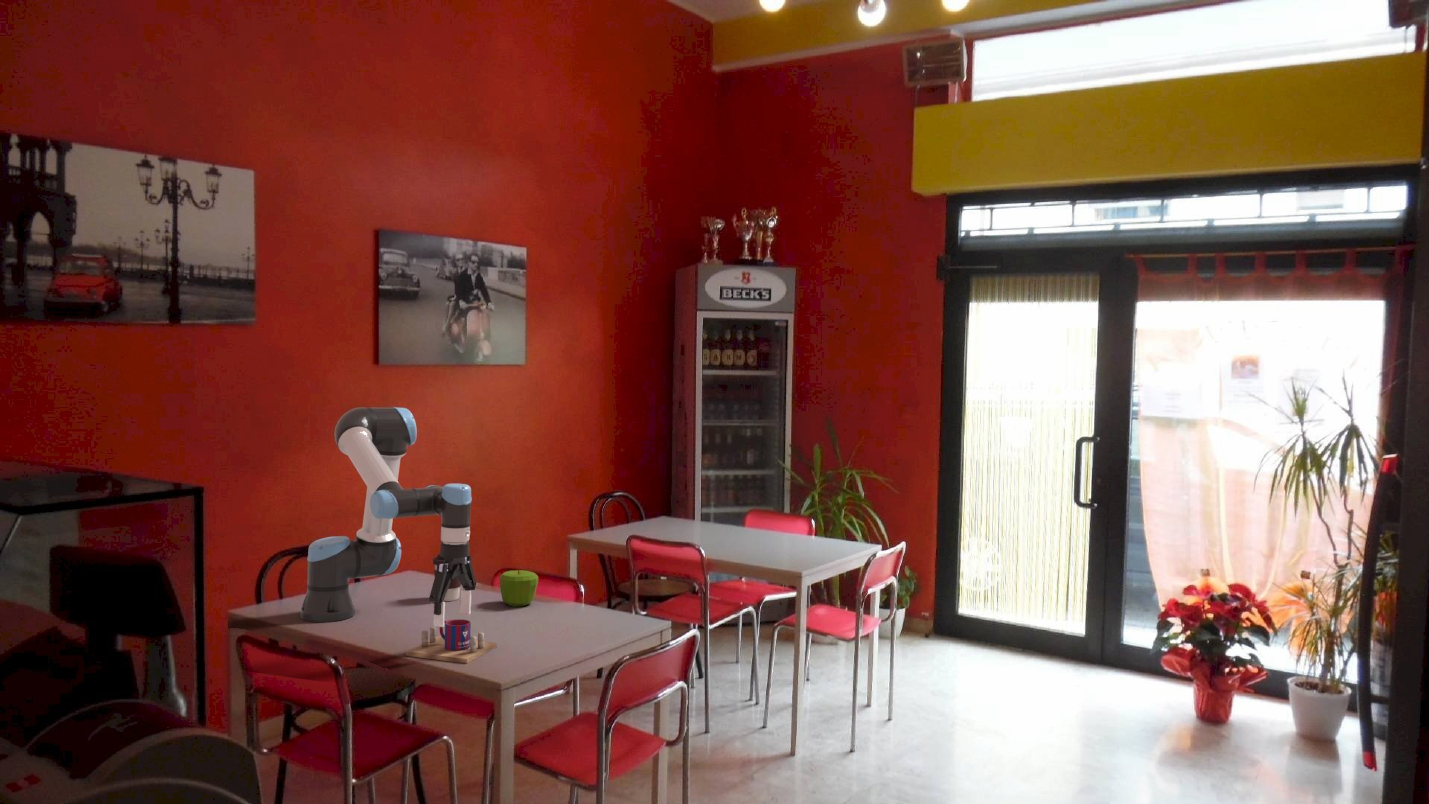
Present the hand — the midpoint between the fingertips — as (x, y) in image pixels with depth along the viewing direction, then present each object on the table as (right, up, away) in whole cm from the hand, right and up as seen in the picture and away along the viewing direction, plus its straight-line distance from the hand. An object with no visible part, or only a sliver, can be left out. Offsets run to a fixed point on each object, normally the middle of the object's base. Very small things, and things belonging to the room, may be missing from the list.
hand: (452, 619), depth 263 cm
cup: (0, -7, +1) cm, 7 cm away
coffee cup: (-17, -6, +58) cm, 60 cm away
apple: (+7, -7, +54) cm, 55 cm away
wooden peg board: (0, -8, 0) cm, 8 cm away
